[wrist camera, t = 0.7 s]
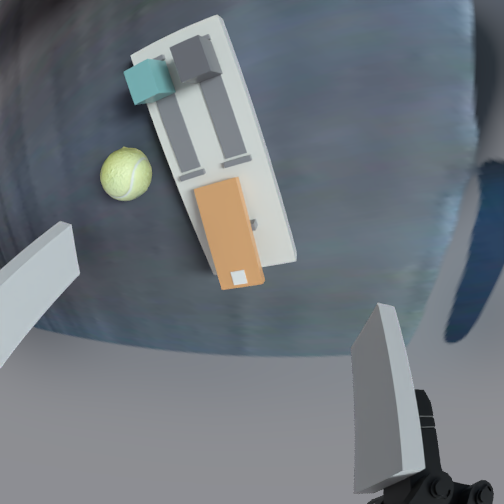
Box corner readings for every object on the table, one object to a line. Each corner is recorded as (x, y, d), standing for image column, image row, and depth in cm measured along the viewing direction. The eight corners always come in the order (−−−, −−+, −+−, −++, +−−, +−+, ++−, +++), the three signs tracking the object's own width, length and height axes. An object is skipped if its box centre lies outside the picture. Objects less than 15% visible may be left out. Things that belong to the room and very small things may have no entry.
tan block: (197, 188, 33) (192, 189, 32) (238, 176, 31) (234, 177, 30) (225, 286, 35) (221, 290, 34) (264, 279, 34) (262, 284, 33)
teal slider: (143, 72, 27) (123, 71, 23) (165, 61, 26) (147, 58, 22) (153, 102, 28) (134, 105, 25) (175, 92, 27) (159, 92, 24)
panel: (139, 56, 27) (124, 54, 25) (222, 18, 24) (213, 11, 21) (217, 267, 40) (210, 281, 38) (296, 252, 37) (295, 267, 34)
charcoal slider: (185, 52, 25) (169, 47, 22) (211, 41, 24) (198, 34, 21) (196, 83, 27) (181, 82, 23) (222, 73, 26) (210, 70, 22)
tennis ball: (90, 204, 31) (135, 208, 30) (88, 149, 29) (134, 147, 28) (119, 193, 37) (160, 196, 36) (118, 145, 35) (161, 145, 34)
